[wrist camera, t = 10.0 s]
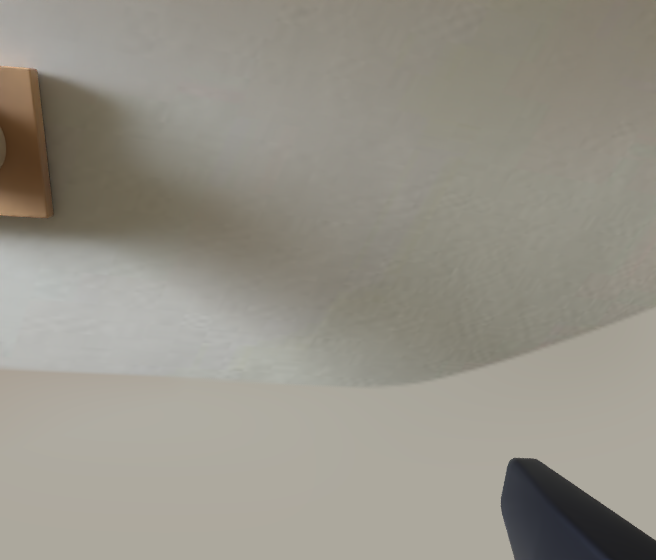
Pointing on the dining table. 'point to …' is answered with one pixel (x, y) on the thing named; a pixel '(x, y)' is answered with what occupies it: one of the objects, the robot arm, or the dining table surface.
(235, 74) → the dining table surface
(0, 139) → the mushroom
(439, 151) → the dining table surface
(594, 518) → the robot arm
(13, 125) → the plate
